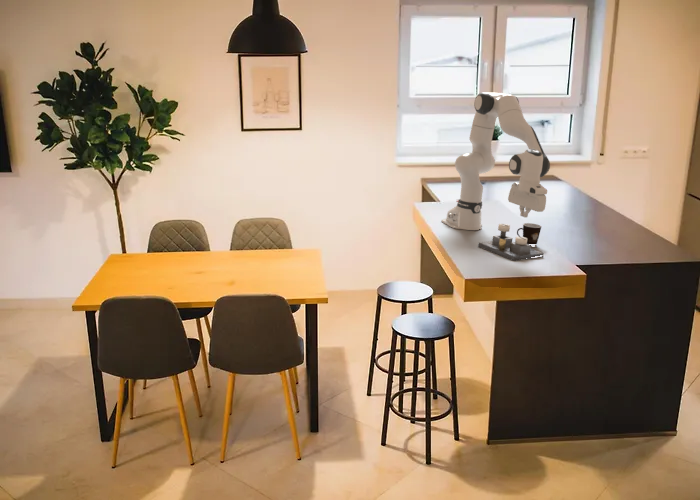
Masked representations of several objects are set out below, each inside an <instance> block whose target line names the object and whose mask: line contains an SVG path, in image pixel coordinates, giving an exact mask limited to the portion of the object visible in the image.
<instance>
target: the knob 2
mask: <svg viewBox="0 0 700 500" xmlns="http://www.w3.org/2000/svg"><path fill="white" fill-rule="evenodd" d="M514 242H515V243H516V244H518V245H527V238H525V237H523V236H521V237H519V236H516V237H515V240H514Z"/></svg>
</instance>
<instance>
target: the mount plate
mask: <svg viewBox="0 0 700 500" xmlns="http://www.w3.org/2000/svg"><path fill="white" fill-rule="evenodd" d="M503 239H506V244H505V249H504V250H503V249H499V242H500V235H499V234H498V235H493V236H492V240H491V241H482V242H481V241H480V242H478V244H477V246H478V247H479V248H481V249H484V250H486V251H489V252H491V253H493V254H495V255H499V256H500V257H503V258H505V259H508V260H510V261H512V262H513V261H514V262H516V260H517V261H522V260H521V259H525V260H527V259H526V258H531V257H535V256H540V255H543V256H544V252H541V251H539V250H536V249H535V248H532V247H531V245H529V244H527V245H518V244H516V243H515V241H513V238H512V237H509V236H508V235H506V237H505V238H503Z"/></svg>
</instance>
